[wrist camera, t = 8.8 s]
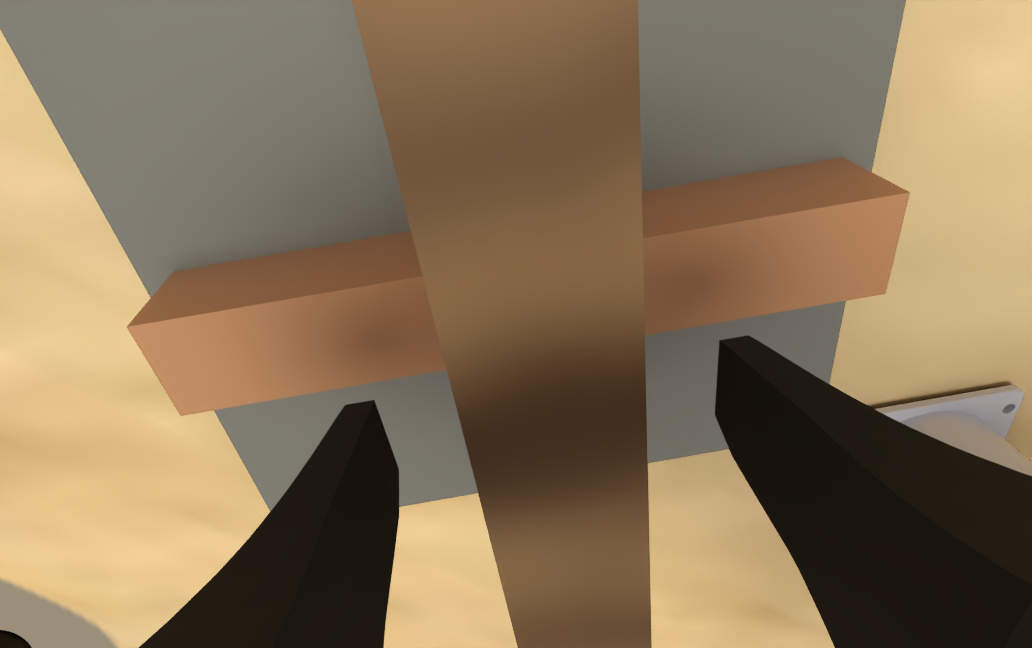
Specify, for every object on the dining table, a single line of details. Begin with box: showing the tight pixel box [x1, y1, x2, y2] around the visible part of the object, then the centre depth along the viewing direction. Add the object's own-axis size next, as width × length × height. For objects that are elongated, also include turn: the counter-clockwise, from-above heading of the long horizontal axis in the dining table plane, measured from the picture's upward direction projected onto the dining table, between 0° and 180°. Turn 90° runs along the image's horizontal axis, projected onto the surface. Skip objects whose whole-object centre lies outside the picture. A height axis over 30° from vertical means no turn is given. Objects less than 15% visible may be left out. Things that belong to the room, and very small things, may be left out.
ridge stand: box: [0, 0, 910, 511], centre depth 17 cm, size 20×22×4 cm
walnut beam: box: [352, 0, 651, 648], centre depth 14 cm, size 18×4×5 cm, turn 8°
